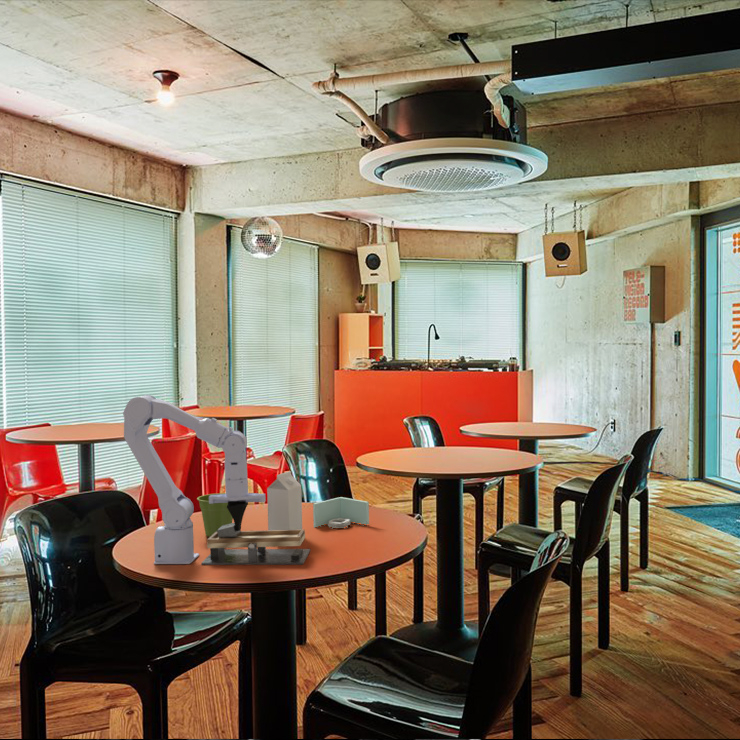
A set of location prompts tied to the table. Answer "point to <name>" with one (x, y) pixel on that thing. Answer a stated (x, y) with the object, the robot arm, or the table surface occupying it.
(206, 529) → the plant pot
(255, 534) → the beam
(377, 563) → the table surface
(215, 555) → the beam stand
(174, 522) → the robot arm
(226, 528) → the block
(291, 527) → the milk carton
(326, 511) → the right angle wall
